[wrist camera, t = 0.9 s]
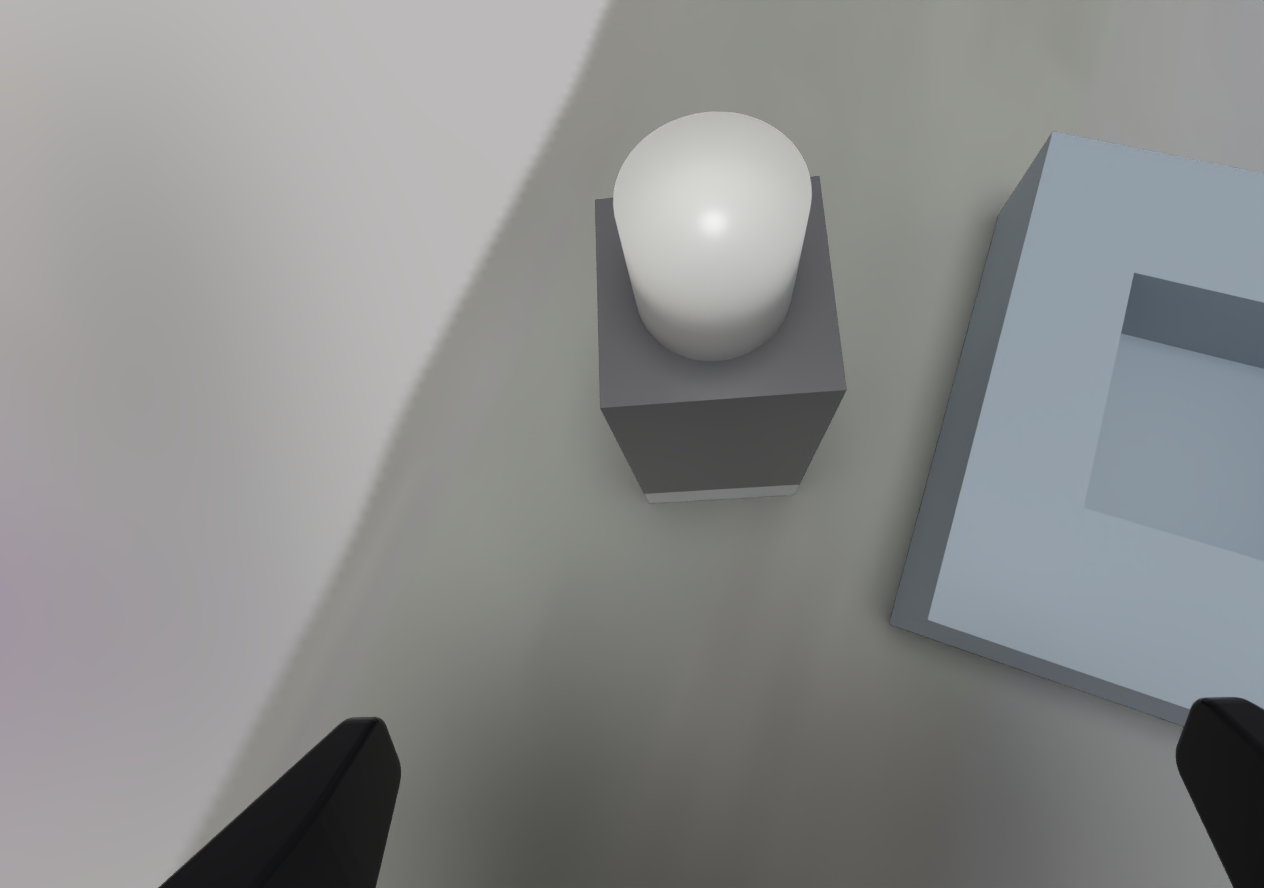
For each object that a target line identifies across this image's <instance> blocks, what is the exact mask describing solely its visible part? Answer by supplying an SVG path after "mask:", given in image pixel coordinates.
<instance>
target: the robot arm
mask: <svg viewBox="0 0 1264 888" xmlns="http://www.w3.org/2000/svg"><path fill="white" fill-rule="evenodd" d="M1176 763H1177V767H1178V770H1179V773H1180V775H1181V778H1182V780H1183V782H1184V784H1185V786H1186V788H1187V790H1188V793H1189V795H1190V797H1191V799H1192V801H1193V803H1194V805H1195V807H1196V809H1197V812H1198V814H1199V816H1200V818H1201V820H1202V822H1203V824H1204V826H1205V829H1206V831H1207V833H1208V835H1209V837H1210V839H1211V841H1212V843H1213V846H1214V848H1215V850H1216V852H1217V854H1218V856H1219V858H1220V860H1221V862H1222V865H1223V867H1224V869H1225V871H1226V873H1227V875H1228V877H1229V879H1230V882H1231V884H1232V886H1233V888H1264V709H1262V708H1261V707H1259V706H1257V705H1256V704H1254V703H1252V702H1250V701H1248V700H1246V699H1243V698H1239V697H1204V698H1199V699H1198V700H1196V701H1195V702H1194V703H1193V704H1192V706H1191V708H1190V711H1189V714H1188V716H1187V719H1186V722H1185V725H1184V728H1183V730H1182V733H1181V736H1180V739H1179V741H1178V744H1177V748H1176ZM400 779H401V767H400V761H399V758H398V756H397V753H396V750H395V748H394V745H393V742H392V740H391V737H390V735H389V732H388V729H387V727H386V724H385V722H384V721H383V720H382V719H380V718H378V717H354V718H349V719H346V720H345V721H343V722H342V723H340V724H339V725H338V726H337V727H336V728H335V729H333V730H332V731H331V732H330V733H329V734H328V735H327V736H326V737H325V738H324V739H322V740H321V741H320V742H319V743H318V744H317V745H316V746H315V747H314V748H312V749H311V750H310V751H309V752H308V753H307V754H306V755H305V756H304V757H302V758H301V759H300V760H299V761H298V762H297V763H296V764H295V765H294V766H293V767H291V768H290V769H289V770H288V771H287V772H286V773H285V774H284V775H283V776H281V777H280V778H279V779H278V780H277V781H276V782H275V783H274V784H273V785H271V786H270V787H269V788H268V789H267V790H266V791H265V792H264V793H263V794H262V795H260V796H259V797H258V798H257V799H256V800H255V801H254V802H253V803H252V804H250V805H249V806H248V807H247V808H246V809H245V810H244V811H243V812H242V813H240V814H239V815H238V816H237V817H236V818H235V819H234V820H233V821H232V822H230V823H229V824H228V825H227V826H226V827H225V828H224V829H223V830H222V831H221V832H219V833H218V834H217V835H216V836H215V837H214V838H213V839H212V840H211V841H209V842H208V843H207V844H206V845H205V846H204V847H203V848H202V849H201V850H199V851H198V852H197V853H196V854H195V855H194V856H193V857H192V858H191V859H190V860H188V861H187V862H186V863H185V864H184V865H183V866H182V867H181V868H180V869H178V870H177V871H176V872H175V873H174V874H173V875H172V876H171V877H170V878H168V879H167V880H166V881H165V882H164V883H163V884H162V885H161V886H160V887H158V888H376V884H377V880H378V876H379V871H380V867H381V863H382V859H383V854H384V850H385V846H386V841H387V837H388V833H389V828H390V824H391V820H392V815H393V811H394V807H395V802H396V798H397V794H398V790H399V785H400Z"/></svg>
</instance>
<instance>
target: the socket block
mask: <svg viewBox="0 0 1264 888" xmlns="http://www.w3.org/2000/svg"><path fill="white" fill-rule="evenodd" d="M889 624H890V625H893V626H896V627H899V628H902V629H905V630H907V631H910V632H913V633H916V634H919V635H922V636H925V637H928V638H931V639H933V640H936V641H939V642H942V643H945V644H948V645H951V646H954V647H957V648H959V649H962V650H965V651H968V652H971V653H974V654H977V655H980V656H983V657H985V658H988V659H991V660H994V661H997V662H1000V663H1003V664H1006V665H1009V666H1011V667H1014V668H1017V669H1020V670H1023V671H1026V672H1029V673H1032V674H1035V675H1037V676H1040V677H1043V678H1046V679H1049V680H1052V681H1055V682H1058V683H1061V684H1063V685H1066V686H1069V687H1072V688H1075V689H1078V690H1081V691H1084V692H1087V693H1089V694H1092V695H1095V696H1098V697H1101V698H1104V699H1107V700H1110V701H1113V702H1115V703H1118V704H1121V705H1124V706H1127V707H1130V708H1133V709H1136V710H1139V711H1141V712H1144V713H1147V714H1150V715H1153V716H1156V717H1159V718H1162V719H1165V720H1167V721H1170V722H1173V723H1176V724H1179V725H1182V726H1184V725H1185V722H1186V719H1187V716H1188V714H1189V711H1190V708H1191V706H1192V704H1193V703H1194V702H1195V701H1196V700H1198V699H1199V698H1204V697H1239V698H1243V699H1246V700H1248V701H1250V702H1252V703H1254V704H1256V705H1257V706H1259V707H1261V708H1262V709H1264V173H1260V172H1255V171H1250V170H1245V169H1240V168H1235V167H1230V166H1225V165H1220V164H1215V163H1210V162H1205V161H1199V160H1194V159H1189V158H1184V157H1179V156H1174V155H1169V154H1164V153H1159V152H1154V151H1149V150H1144V149H1139V148H1134V147H1129V146H1124V145H1119V144H1114V143H1109V142H1104V141H1099V140H1094V139H1089V138H1083V137H1078V136H1073V135H1068V134H1063V133H1058V132H1052V133H1051V135H1050V136H1049V138H1048V139H1047V141H1046V142H1045V144H1044V146H1043V147H1042V149H1041V150H1040V152H1039V153H1038V155H1037V156H1036V158H1035V159H1034V161H1033V162H1032V164H1031V166H1030V167H1029V169H1028V170H1027V172H1026V173H1025V175H1024V176H1023V178H1022V179H1021V181H1020V182H1019V184H1018V186H1017V187H1016V189H1015V190H1014V192H1013V193H1012V195H1011V196H1010V198H1009V199H1008V201H1007V203H1006V204H1005V206H1004V207H1003V209H1002V210H1001V212H1000V213H999V215H998V219H997V223H996V226H995V230H994V234H993V238H992V241H991V245H990V249H989V253H988V256H987V260H986V264H985V267H984V271H983V275H982V279H981V282H980V286H979V290H978V294H977V297H976V301H975V305H974V309H973V312H972V316H971V320H970V323H969V327H968V331H967V335H966V338H965V342H964V346H963V350H962V353H961V357H960V361H959V365H958V368H957V372H956V376H955V379H954V383H953V387H952V391H951V394H950V398H949V402H948V406H947V409H946V413H945V417H944V421H943V424H942V428H941V432H940V436H939V439H938V443H937V447H936V450H935V454H934V458H933V462H932V465H931V469H930V473H929V477H928V480H927V484H926V488H925V492H924V495H923V499H922V503H921V506H920V510H919V514H918V518H917V521H916V525H915V529H914V533H913V536H912V540H911V544H910V548H909V551H908V555H907V559H906V562H905V566H904V570H903V574H902V577H901V581H900V585H899V589H898V592H897V596H896V600H895V604H894V607H893V611H892V615H891V619H890V622H889Z"/></svg>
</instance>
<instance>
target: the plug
mask: <svg viewBox="0 0 1264 888" xmlns="http://www.w3.org/2000/svg"><path fill="white" fill-rule="evenodd" d="M595 221H596V261H597V301H598V340H599V380H600V409H601V411H602V413H603V414H604V416H605V418H606V420H607V422H608V424H609V426H610V428H611V430H612V432H613V434H614V436H615V438H616V440H617V442H618V444H619V446H620V448H621V450H622V452H623V453H624V455H625V457H626V459H627V461H628V463H629V465H630V467H631V469H632V471H633V473H634V475H635V477H636V479H637V481H638V483H639V485H640V487H641V489H642V490H643V492H644V494H645V496H646V498H647V500H648V502H649V503H666V502H683V501H700V500H717V499H734V498H751V497H768V496H785V495H794V494H795V492H796V490H797V488H798V486H799V484H800V482H801V480H802V478H803V476H804V474H805V472H806V470H807V468H808V466H809V464H810V462H811V460H812V458H813V456H814V454H815V452H816V450H817V448H818V446H819V444H820V442H821V440H822V438H823V436H824V434H825V432H826V430H827V428H828V426H829V424H830V422H831V420H832V418H833V416H834V414H835V412H836V410H837V408H838V406H839V404H840V402H841V400H842V398H843V396H844V394H845V392H846V382H845V374H844V366H843V358H842V350H841V342H840V335H839V327H838V319H837V311H836V303H835V295H834V287H833V279H832V272H831V264H830V256H829V248H828V240H827V232H826V224H825V216H824V209H823V201H822V193H821V185H820V177H819V176H815V177H810V175H809V171H808V168H807V166H806V163H805V161H804V159H803V157H802V156H801V154H800V152H799V151H798V149H797V148H796V147H795V145H794V144H793V143H792V142H791V141H790V140H789V139H788V138H787V137H786V136H785V135H784V134H783V133H781V132H780V131H779V130H777V129H776V128H774V127H773V126H771V125H769V124H767V123H766V122H763V121H761V120H759V119H756V118H754V117H750V116H747V115H743V114H738V113H732V112H703V113H697V114H692V115H688V116H685V117H681V118H678V119H676V120H673V121H671V122H669V123H667V124H665V125H663V126H661V127H659V128H658V129H656V130H655V131H653V132H652V133H650V134H649V135H648V136H646V137H645V138H644V139H643V140H642V141H641V142H640V143H639V144H638V145H637V146H636V147H635V148H634V149H633V150H632V152H631V153H630V154H629V156H628V157H627V159H626V160H625V162H624V164H623V166H622V168H621V170H620V172H619V174H618V177H617V180H616V183H615V189H614V195H613V198H606V199H597V200H595Z"/></svg>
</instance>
